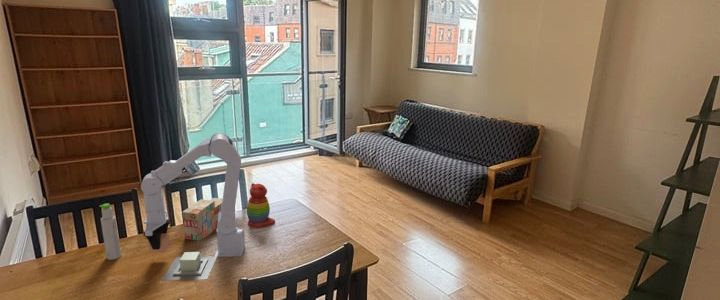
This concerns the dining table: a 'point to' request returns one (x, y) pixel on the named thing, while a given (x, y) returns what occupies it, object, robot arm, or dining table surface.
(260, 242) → the dining table surface
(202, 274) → the baseplate
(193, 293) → the dining table surface
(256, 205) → the stacking bear
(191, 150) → the robot arm
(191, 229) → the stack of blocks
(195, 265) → the sage brick
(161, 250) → the peach block
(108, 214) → the bottle
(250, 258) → the dining table surface
